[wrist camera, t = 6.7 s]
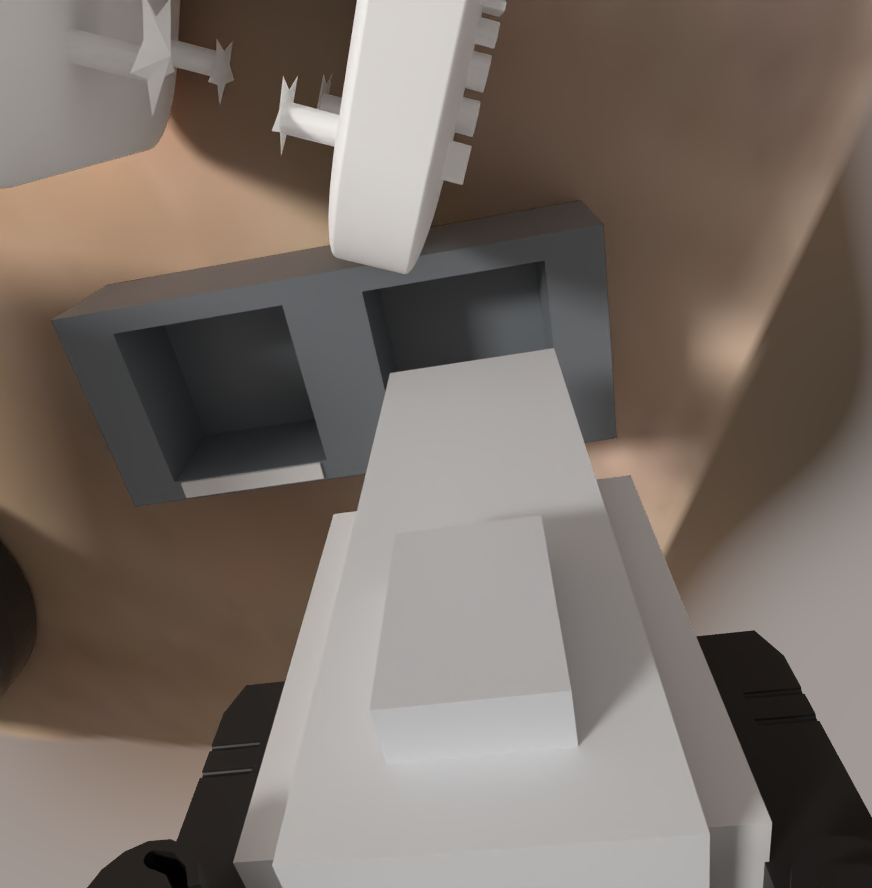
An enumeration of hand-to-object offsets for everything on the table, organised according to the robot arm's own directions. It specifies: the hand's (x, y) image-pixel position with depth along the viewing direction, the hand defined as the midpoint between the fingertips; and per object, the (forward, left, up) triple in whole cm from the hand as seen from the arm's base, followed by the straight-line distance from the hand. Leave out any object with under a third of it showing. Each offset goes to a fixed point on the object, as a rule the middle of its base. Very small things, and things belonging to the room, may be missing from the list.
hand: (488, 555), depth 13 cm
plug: (0, 0, -5) cm, 5 cm away
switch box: (-4, 0, -14) cm, 15 cm away
